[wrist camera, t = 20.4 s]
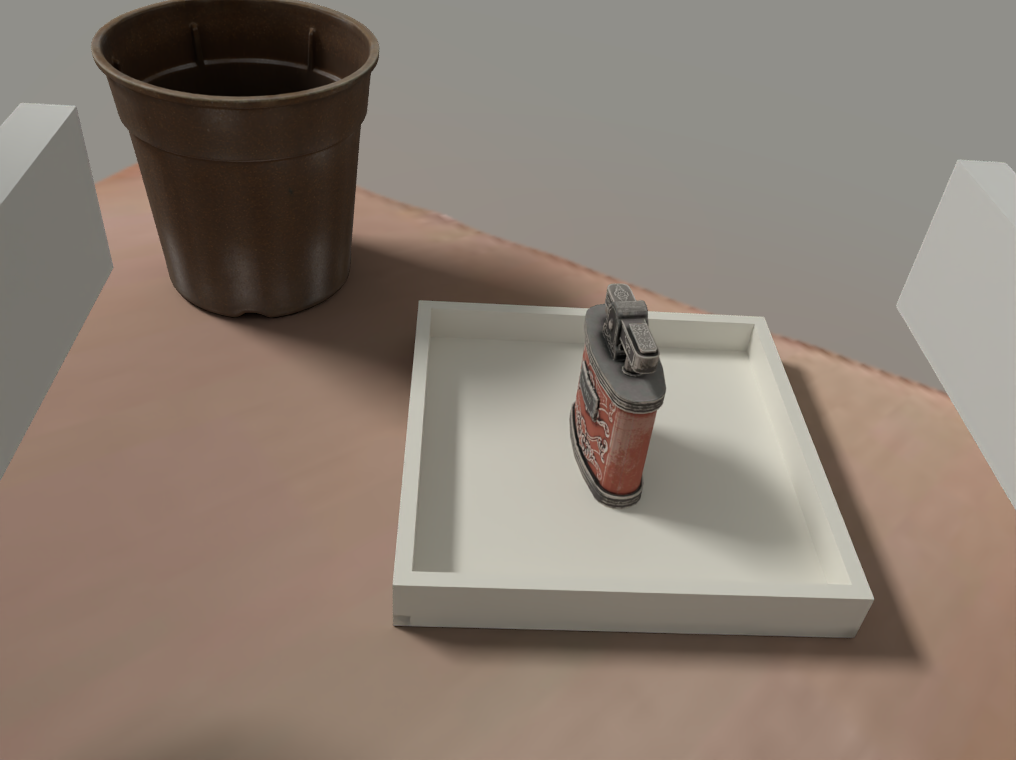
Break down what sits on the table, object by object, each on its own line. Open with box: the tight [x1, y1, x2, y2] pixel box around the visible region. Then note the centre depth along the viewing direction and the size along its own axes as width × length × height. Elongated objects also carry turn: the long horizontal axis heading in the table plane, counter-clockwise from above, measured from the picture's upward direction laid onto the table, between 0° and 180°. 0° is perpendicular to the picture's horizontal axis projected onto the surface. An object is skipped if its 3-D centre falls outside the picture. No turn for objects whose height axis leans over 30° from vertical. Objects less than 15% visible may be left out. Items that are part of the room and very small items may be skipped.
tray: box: [393, 300, 874, 638], centre depth 52 cm, size 22×22×3 cm
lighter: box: [569, 283, 666, 509], centre depth 49 cm, size 8×3×10 cm, turn 9°
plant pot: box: [91, 0, 379, 318], centre depth 60 cm, size 16×16×16 cm
